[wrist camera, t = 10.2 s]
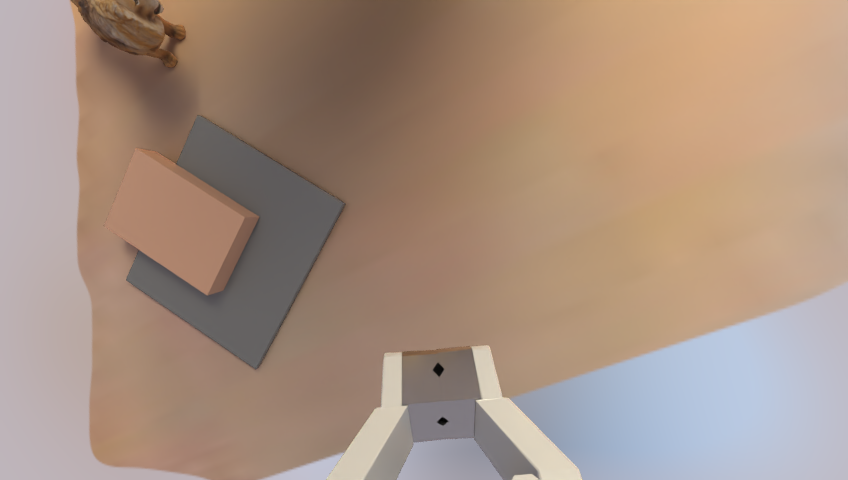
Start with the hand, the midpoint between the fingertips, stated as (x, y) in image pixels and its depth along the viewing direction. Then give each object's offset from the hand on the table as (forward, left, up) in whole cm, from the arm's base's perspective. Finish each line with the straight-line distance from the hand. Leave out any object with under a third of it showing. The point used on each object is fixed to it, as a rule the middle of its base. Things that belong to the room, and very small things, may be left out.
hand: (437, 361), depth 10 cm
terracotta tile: (+10, -18, -19) cm, 28 cm away
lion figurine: (-4, -36, -20) cm, 41 cm away
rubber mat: (+10, -20, -20) cm, 30 cm away
